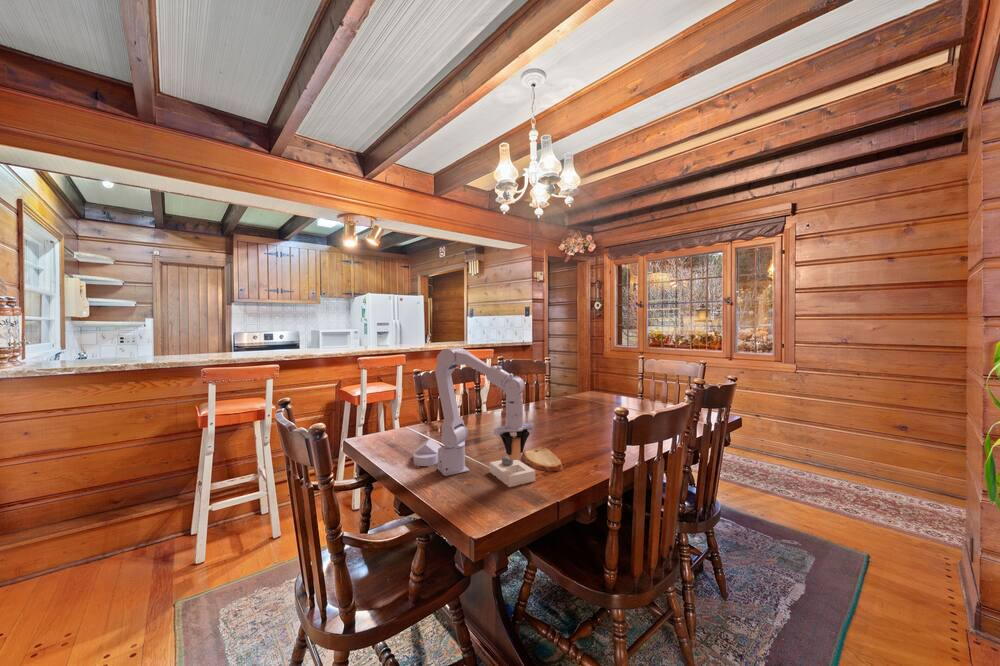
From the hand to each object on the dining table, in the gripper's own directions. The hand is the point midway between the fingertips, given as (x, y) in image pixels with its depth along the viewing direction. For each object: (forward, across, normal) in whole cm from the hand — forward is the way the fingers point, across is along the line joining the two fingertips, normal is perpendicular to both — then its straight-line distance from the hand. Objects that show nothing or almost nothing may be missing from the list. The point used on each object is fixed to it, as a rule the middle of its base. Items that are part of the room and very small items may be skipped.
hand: (514, 453), depth 130 cm
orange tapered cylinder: (+2, 0, 0) cm, 2 cm away
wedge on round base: (+9, -21, +31) cm, 39 cm away
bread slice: (+10, +18, +10) cm, 23 cm away
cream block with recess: (+9, 0, +2) cm, 9 cm away
